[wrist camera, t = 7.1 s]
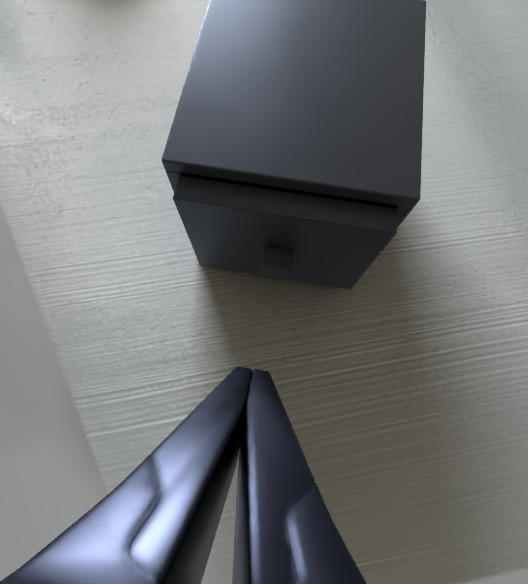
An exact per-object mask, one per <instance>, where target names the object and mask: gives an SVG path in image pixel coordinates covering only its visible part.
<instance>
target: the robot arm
mask: <svg viewBox="0 0 528 584" xmlns="http://www.w3.org/2000/svg"><path fill="white" fill-rule="evenodd" d="M239 451H240V453H239ZM238 456H239V463H238V480H237V500H236V521H235V541H234V562H233V582H232V584H367V583H366V582H365V580H364V578H363V576H362V575H361V573H360V571H359V569H358V567H357V566H356V564H355V562H354V560H353V558H352V557H351V555H350V553H349V551H348V549H347V547H346V545H345V544H344V542H343V540H342V538H341V536H340V534H339V532H338V530H337V528H336V527H335V525H334V523H333V520H332V518H331V516H330V514H329V512H328V509H327V507H326V505H325V503H324V501H323V498H322V496H321V494H320V491H319V489H318V487H317V484H316V483H314V481H315V480H314V477H313V475H312V473H311V470H310V468H309V466H308V463H307V461H306V458H305V456H304V454H303V451H302V449H301V447H300V444H299V442H298V440H297V437H296V435H295V432H294V430H293V428H292V425H291V423H290V421H289V418H288V416H287V413H286V411H285V409H284V406H283V404H282V402H281V399H280V397H279V394H278V392H277V390H276V387H275V385H274V383H273V380H272V378H271V375H270V373H269V372H268V371H263V370H257V369H254V370H253V371H252V369H250V368H244V367H236V368H235V369H234V370H233V371H232V372H231V373H230V374H229V375H228V376H227V377H226V378H225V379H224V380H223V381H222V382H221V383H220V384H219V385H218V386H217V387H216V388H215V389H214V390H213V391H212V392H211V393H210V394H209V395H208V396H207V397H206V398H205V399H204V400H203V401H202V402H201V403H200V404H199V405H198V406H197V407H196V408H195V409H194V410H193V411H192V412H191V413H190V414H189V415H188V416H187V417H186V418H185V419H184V420H183V421H182V422H181V423H180V424H179V426H178V427H177V428H176V429H175V430H174V431H173V432H172V433H171V434H170V435H169V436H168V437H167V438H166V439H165V440H164V441H163V442H162V443H161V444H160V445H159V446H158V447H157V448H156V449H155V450H154V451H153V452H152V453H151V455H149V456H148V457H147V458H146V459H145V460H144V461H143V462H142V463H141V464H140V465H139V466H138V467H137V468H136V469H135V470H134V471H133V472H132V473H131V474H130V475H129V476H128V477H127V478H126V479H125V480H124V481H122V482H121V483H120V484H119V485H118V486H117V487H116V488H115V489H114V490H113V491H112V492H110V493H109V494H108V495H107V496H106V497H105V498H103V499H102V500H101V501H100V502H99V503H98V504H96V505H95V506H94V507H93V508H92V509H91V510H89V511H88V512H87V513H86V514H84V515H83V516H82V517H81V518H80V519H78V520H77V521H76V522H75V523H74V524H72V525H71V526H70V527H69V528H68V529H66V530H65V531H64V532H63V533H61V534H60V535H59V536H58V537H57V538H55V540H53V541H52V542H51V543H49V544H48V545H47V546H46V547H45V548H43V549H42V550H41V551H40V552H39V553H37V554H36V555H35V556H34V557H33V558H31V559H30V560H29V561H28V562H26V563H25V564H24V565H23V566H21V567H20V568H19V569H17V570H16V571H15V572H13V573H12V574H11V575H9V576H8V577H6V578H5V579H3V580H2V581H0V584H201V581H202V578H203V574H204V571H205V568H206V564H207V561H208V558H209V554H210V551H211V548H212V544H213V541H214V538H215V534H216V531H217V528H218V524H219V521H220V518H221V514H222V511H223V508H224V504H225V501H226V498H227V494H228V491H229V488H230V484H231V481H232V478H233V474H234V471H235V468H236V464H237V460H238Z"/></svg>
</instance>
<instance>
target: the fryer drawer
mask: <svg viewBox="0 0 528 584" xmlns="http://www.w3.org/2000/svg"><path fill="white" fill-rule="evenodd" d="M173 200H174V202H175V204H176V207H177V209H178V212H179V214H180V217H181V219H182V222H183V224H184V227H185V229H186V232H187V234H188V237H189V239H190V242H191V244H192V247H193V249H194V251H195V254H196V256H197V259H198V261H199V264H200V265H202V266H209V267H215V268H221V269H227V270H234V271H240V272H246V273H252V274H259V275H265V276H268V277H272V278H284V279H290V280H296V281H303V282H309V283H315V284H321V285H328V286H334V287H340V288H346V289H351V288H352V286H353V285H354V284H355V283H356V282H357V280H358V279H359V278H360V277H361V276H362V274H363V273H364V272H365V271H366V269H367V268H368V267H369V266H370V265H371V263H372V262H373V261H374V260H375V258H376V257H377V256H378V255H379V254H380V252H381V251H382V250H383V249H384V247H385V246H386V245H387V244H388V243H389V241H390V240H391V239H392V238H393V237H394V235H395V234H396V233H397V216H398V209H395V208H389V207H382V206H376V205H373V203H374V202H372V201H366V200H359V199H353V198H346V197H340V196H333V195H326V194H320V193H313V192H307V191H300V190H294V189H287V188H281V187H274V186H267V185H261V184H254V183H248V182H241V181H235V180H228V179H221V178H215V177H208V176H204V179H199V178H192V177H186V176H179V178H178V182H177V185H176V189H175V192H174V196H173Z"/></svg>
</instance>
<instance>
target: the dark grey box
mask: <svg viewBox="0 0 528 584" xmlns="http://www.w3.org/2000/svg"><path fill="white" fill-rule="evenodd" d="M425 19H426V1H425V0H210V1H209V4H208V7H207V11H206V14H205V17H204V21H203V24H202V27H201V31H200V34H199V37H198V41H197V44H196V47H195V51H194V54H193V57H192V61H191V64H190V67H189V70H188V74H187V77H186V80H185V84H184V87H183V90H182V94H181V97H180V100H179V104H178V107H177V110H176V114H175V117H174V120H173V124H172V127H171V130H170V134H169V137H168V140H167V144H166V147H165V150H164V154H163V157H162V163H163V165H164V168H165V170H166V173H167V176H168V178H169V181H170V183H171V186H172V188H173V191H174V192H175V189H176V185H177V182H178V178H179V176H186V177H192V178H199V179H204V176H208V177H215V178H221V179H228V180H235V181H241V182H248V183H254V184H261V185H267V186H274V187H281V188H287V189H294V190H300V191H307V192H313V193H320V194H326V195H333V196H340V197H346V198H353V199H359V200H366V201H372V202H374V203H373V205H376V206H382V207H389V208H395V209H398V216H397V228H398V226H399V225H400V224H401V223H402V221H403V220H404V219H405V218H406V216H407V215H408V214H409V213H410V211H411V210H412V209H413V207H414V206H415V205H416V204H417V203H418V201H419V200H420V185H421V152H422V119H423V86H424V53H425Z"/></svg>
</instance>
